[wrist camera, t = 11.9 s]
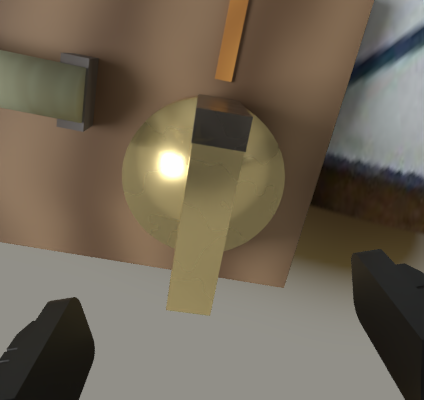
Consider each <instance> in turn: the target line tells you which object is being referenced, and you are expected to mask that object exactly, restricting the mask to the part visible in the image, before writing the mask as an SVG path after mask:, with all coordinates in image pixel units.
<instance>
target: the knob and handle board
mask: <svg viewBox="0 0 424 400" xmlns="http://www.w3.org/2000/svg"><path fill="white" fill-rule="evenodd" d="M373 3H374V0H0V242H4V243H10V244H16V245H22V246H28V247H34V248H41V249H47V250H53V251H59V252H65V253H72V254H78V255H84V256H90V257H96V258H102V259H108V260H115V261H121V262H127V263H133V264H139V265H146V266H152V267H158V268H164V269H170V270H172V264H173V257H174V250H175V249H174V248H172V247H169V246H167V245H165V244H163V243H161V242H160V241H158V240H157V239H155V238H154V237H153V236H151V235H150V234H149V233H148V232H146V230H145V229H144V228H143V227H142V226H141V225H140V224H139V223H138V221H137V220H136V219H135V217H134V216H133V214H132V212H131V210H130V209H129V206H128V204H127V201H126V199H125V195H124V191H123V184H122V167H123V161H124V157H125V154H126V151H127V148H128V146H129V144H130V141H131V139H132V138H133V136H134V135H135V133H136V132H137V130H138V129H139V128H140V127H141V126H142V124H143V123H144V122H145V121H146V120H147V119H148V118H149V117H150V116H151V115H152V114H154V113H155V112H156V111H157V110H159V109H161V108H162V107H164V106H165V105H168V104H170V103H172V102H174V101H177V100H180V99H183V98H188V97H194V96H198V94H204V95H210V96H215V97H221V98H226V99H232V100H238V101H240V102H241V103H242V105H243V106H244V107H245V108H246V109H248V110H249V111H251V112H252V113H253V114H255V115H256V116H257V117H258V118H259V119H260V120H261V121H262V122H263V123H264V124H265V125H266V127H267V128H268V129H269V131H270V132H271V133H272V135H273V136H274V138H275V140H276V142H277V143H278V146H279V148H280V151H281V153H282V157H283V162H284V169H285V185H284V190H283V195H282V198H281V201H280V204H279V206H278V208H277V210H276V212H275V214H274V216H273V217H272V219H271V220H270V222H269V223H268V224H267V225H266V226H265V227H264V229H263V230H261V231H260V232H259V233H258V234H257V235H256V236H255V237H253V238H252V239H250V240H249V241H247V242H245V243H244V244H242V245H240V246H238V247H235V248H233V249H230V250H226V251H223V256H222V261H221V265H220V270H219V275H218V277H219V278H226V279H232V280H238V281H244V282H250V283H257V284H263V285H269V286H275V287H282V288H284V285H285V282H286V279H287V276H288V273H289V270H290V267H291V263H292V260H293V257H294V254H295V251H296V247H297V244H298V241H299V238H300V235H301V232H302V228H303V225H304V222H305V219H306V216H307V212H308V209H309V206H310V203H311V200H312V197H313V193H314V190H315V187H316V184H317V181H318V178H319V174H320V171H321V168H322V165H323V162H324V159H325V155H326V152H327V149H328V146H329V143H330V140H331V136H332V133H333V130H334V127H335V124H336V120H337V117H338V114H339V111H340V108H341V105H342V101H343V98H344V95H345V92H346V89H347V86H348V82H349V79H350V76H351V73H352V70H353V66H354V63H355V60H356V57H357V54H358V51H359V47H360V44H361V41H362V38H363V35H364V32H365V28H366V25H367V22H368V19H369V16H370V13H371V9H372V6H373Z"/></svg>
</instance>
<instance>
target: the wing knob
mask: <svg viewBox="0 0 424 400" xmlns="http://www.w3.org/2000/svg"><path fill="white" fill-rule="evenodd" d="M122 184H123V191H124V195H125V199H126V201H127V204H128V206H129V209H130V210H131V212H132V214H133V216H134V217H135V219H136V220H137V221H138V223H139V224H140V225H141V226H142V227H143V228H144V229H145V230H146V232H148V233H149V234H150V235H151V236H153V237H154V238H155V239H157V240H158V241H160V242H161V243H163V244H165V245H167V246H169V247H172V248H174V249H175V250H174V257H173V264H172V271H171V279H170V286H169V292H168V300H167V306H166V310H170V311H178V312H186V313H193V314H201V315H210V313H211V308H212V304H213V299H214V294H215V289H216V284H217V280H218V275H219V270H220V265H221V261H222V256H223V251H226V250H230V249H233V248H235V247H238V246H240V245H242V244H244V243H245V242H247V241H249V240H250V239H252V238H253V237H255V236H256V235H257V234H258V233H259V232H260V231H261V230H263V229H264V227H265V226H266V225H267V224H268V223H269V222H270V220H271V219H272V217H273V216H274V214H275V212H276V210H277V208H278V206H279V204H280V201H281V198H282V195H283V190H284V185H285V169H284V162H283V157H282V153H281V151H280V148H279V146H278V143H277V142H276V140H275V138H274V136H273V135H272V133H271V132H270V131H269V129H268V128H267V127H266V125H265V124H264V123H263V122H262V121H261V120H260V119H259V118H258V117H257V116H256V115H255V114H253V113H252V112H251V111H249V110H248V109H246V108H245V107H244V106H243V105H242V103H241V102H240V101H238V100H232V99H226V98H221V97H215V96H210V95H204V94H198V96H194V97H188V98H183V99H180V100H177V101H174V102H172V103H170V104H168V105H165V106H164V107H162V108H161V109H159V110H157V111H156V112H155V113H154V114H152V115H151V116H150V117H149V118H148V119H147V120H146V121H145V122H144V123H143V124H142V126H141V127H140V128H139V129H138V130H137V132H136V133H135V135H134V136H133V138H132V139H131V141H130V144H129V146H128V148H127V151H126V154H125V157H124V161H123V167H122Z"/></svg>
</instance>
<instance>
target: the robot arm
mask: <svg viewBox="0 0 424 400" xmlns="http://www.w3.org/2000/svg"><path fill="white" fill-rule="evenodd" d="M351 262H352V263H351V264H352V282H353V299H354V305H355V310H356V314H357V316H358V319H359V321H360V323H361V325H362V326H363V328H364V330H365V332H366V333H367V335H368V337H369V338H370V340H371V342H372V344H373V345H374V347H375V349H376V350H377V352H378V354H379V356H380V357H381V359H382V361H383V362H384V364H385V366H386V367H387V369H388V371H389V373H390V375H391V376H392V378H393V380H394V381H395V383H396V385H397V386H398V388H399V390H400V392H401V393H402V395H403V397H404V398H405V400H424V273H422V272H421V271H419V270H417V269H414V268H413V267H411V266H409V265H407V264H397V265H395V264H394V262H393V261H392V260H391V259H390V258H389V257H388V256H387V255H386V254H385V253H384V252H383V251H382V250H381V249H377V250H371V251H365V252H358V253H353V255H352V258H351ZM94 354H95V346H94V340H93V337H92V334H91V331H90V328H89V325H88V323H87V320H86V317H85V314H84V311H83V309H82V306H81V303H80V301H79V300H78V299H77V298H75V297H73V298H66V299H61V300H54V301H50V302H48V303H47V304H46V306H45V307H44V309H43V310H42V312H41V313H40V315H39V316H38V318H37V319H36V321H32V322H31V323H30V324H29V325H27V326H26V327H25V328H24V329H23V330H22V331H20V332H19V333H18V334H17V335H16V337H15V338H14V339H13V341H12V342H11V344H10V345H9V347H8V348H7V352H4V354H3V355H2V357H1V358H0V400H79V398H80V395H81V392H82V390H83V387H84V384H85V382H86V379H87V376H88V373H89V371H90V368H91V366H92V363H93V360H94Z"/></svg>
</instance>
